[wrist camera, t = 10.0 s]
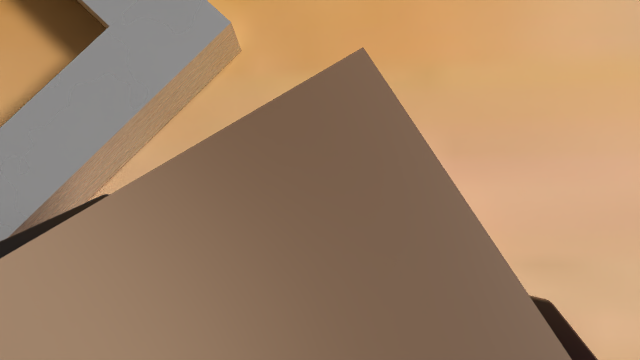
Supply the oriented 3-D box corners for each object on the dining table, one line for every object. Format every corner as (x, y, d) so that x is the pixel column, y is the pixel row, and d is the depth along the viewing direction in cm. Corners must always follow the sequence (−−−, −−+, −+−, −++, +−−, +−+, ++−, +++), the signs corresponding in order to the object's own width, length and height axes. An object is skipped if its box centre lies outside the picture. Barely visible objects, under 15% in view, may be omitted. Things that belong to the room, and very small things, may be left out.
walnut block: (280, 442, 15) (156, 903, 4) (198, 294, 15) (-108, 322, 4) (424, 350, 15) (682, 523, 4) (336, 209, 16) (363, 47, 5)
